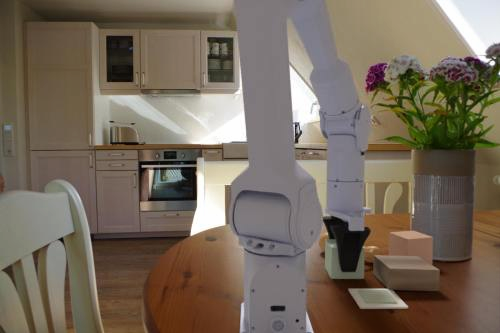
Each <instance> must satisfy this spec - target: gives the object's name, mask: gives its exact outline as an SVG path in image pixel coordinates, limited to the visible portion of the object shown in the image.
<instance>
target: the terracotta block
mask: <svg viewBox="0 0 500 333" xmlns="http://www.w3.org/2000/svg"><path fill="white" fill-rule="evenodd" d="M433 251H434V237H433V236H430V235H428V234H425V233H422V232H419V231H416V230H404V231H403V230H401V231H390V232H389V235H388V256H418V257H420V258H422V259H423V260H425V261H426V262H428V263H430V264H431V265H433V256H434V255H433V254H434V253H433Z"/></svg>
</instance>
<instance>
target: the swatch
mask: <svg viewBox="0 0 500 333" xmlns="http://www.w3.org/2000/svg"><path fill="white" fill-rule="evenodd" d="M348 292H349V293H350V295H351V297H352V298H353V300H354V301H355V302H356V305H358V307H359V309H361V310H363V309H364V310H365V309H366V310H367V309H368V310H373V309H374V310H376V309H377V310H378V309H386V310H391V309H392V310H394V309H397V310H398V309H399V310H400V309H401V310H402V309H404V310H405V309H407V310H408V309H409V306H408V305H407V304H406V303H405V301H403V300H402V299H401V298H400V296H399V295H398V294H397V293H396V292H395V290H389V289H388V288H348Z"/></svg>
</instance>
